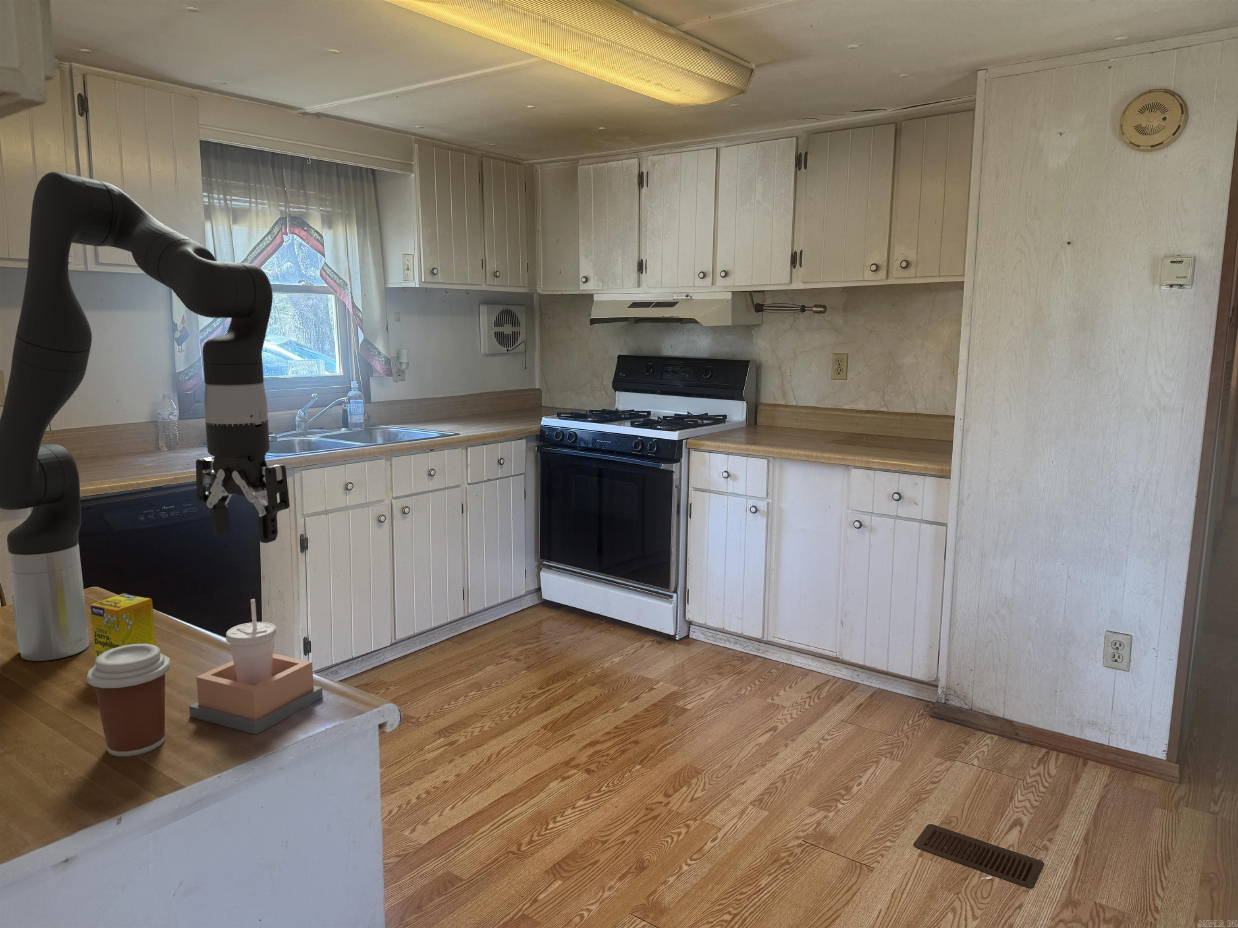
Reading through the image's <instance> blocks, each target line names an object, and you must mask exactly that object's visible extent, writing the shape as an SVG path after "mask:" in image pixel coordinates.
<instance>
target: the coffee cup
mask: <svg viewBox="0 0 1238 928" xmlns="http://www.w3.org/2000/svg"><path fill="white" fill-rule="evenodd" d="M94 661H95V662H94V663H95V664H94V665H93V667H91V668H90V669H89V670H88V672H87V676H86V682H87V683H88V684H89V685H90V686H91V687H94V691H95V692H94V693H95V696H96V700H97V701H96V702H97V704H98V705H97V706H98V710H99V714H100V719H101V724H102V729H103V734H104V739H105V743H106V750H107V753H109V755H110V756H115V757H132V756H138V755H139V756H140V755H143V754H145V753H148V752H151V751H153V750H155V749H157V748H158V747H160V746H161V745H163V743H164V742H166V673H167V672H169V670H171V659H170V657H169V656H167V655H166V654H163V653H161V648H159V646H157V645H156V646H155V645H151V644H132V645H125V646H121V647H117V648H113V649H111V650H108V651H106V652H103V653H102V654H101V655H99V656H98V657H97V658H96V659H95V660H94Z"/></svg>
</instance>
